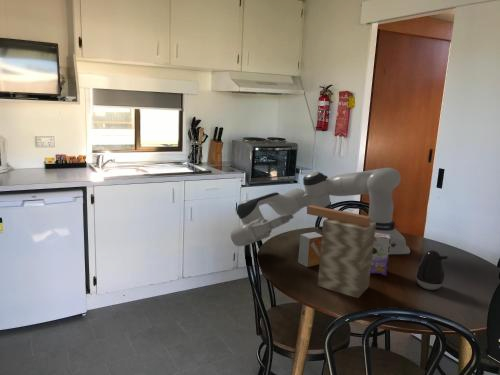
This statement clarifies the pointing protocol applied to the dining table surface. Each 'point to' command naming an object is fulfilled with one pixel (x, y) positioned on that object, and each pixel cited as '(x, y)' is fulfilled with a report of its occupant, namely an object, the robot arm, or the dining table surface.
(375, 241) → the candy box
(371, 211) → the robot arm
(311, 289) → the dining table surface
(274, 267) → the dining table surface
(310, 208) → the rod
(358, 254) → the stand
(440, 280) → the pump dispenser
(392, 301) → the dining table surface
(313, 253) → the small box
